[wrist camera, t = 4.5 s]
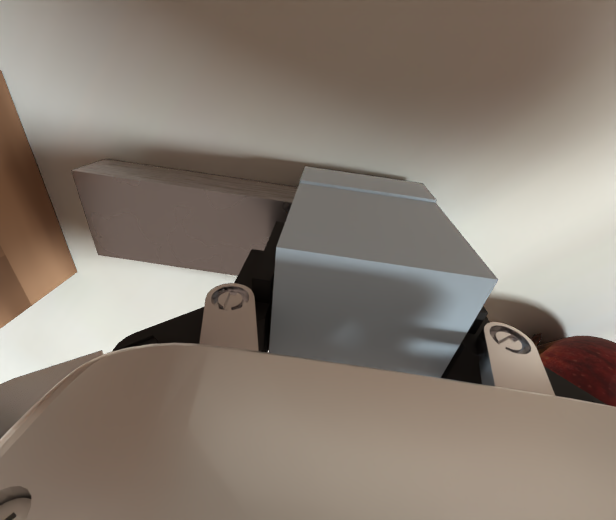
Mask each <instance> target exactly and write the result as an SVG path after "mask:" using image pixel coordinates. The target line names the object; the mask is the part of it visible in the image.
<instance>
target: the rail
mask: <svg viewBox="0 0 616 520" xmlns="http://www.w3.org/2000/svg"><path fill="white" fill-rule="evenodd" d="M71 171H72V174H73V177H74V181H75V184H76V187H77V190H78V193H79V196H80V199H81V203H82V206H83V209H84V212H85V215H86V218H87V221H88V225H89V228H90V231H91V234H92V237H93V240H94V243H95V247H96V250H97V253H98V255H102V256H109V257H116V258H122V259H129V260H136V261H142V262H149V263H156V264H163V265H169V266H176V267H183V268H190V269H196V270H203V271H210V272H217V273H223V274H230V275H237V276H238V275H239V273H240V271H241V269H242V267H243V265H244V263H245V261H246V259H247V257H248V255H249V253H250V251H251V250H252V249H256V250H263V251H264V249H265V247H266V244H267V242H268V240H269V237H270V235H271V233H272V230H273V228H274V226H275V223H276V221H278V222H286V219H287V216H288V213H289V211H290V208H291V205H292V202H293V200H294V197H295V194H296V191H297V189H298V187H294V186H287V185H280V184H274V183H267V182H260V181H253V180H246V179H239V178H232V177H226V176H219V175H212V174H205V173H198V172H191V171H185V170H178V169H171V168H164V167H157V166H150V165H143V164H137V163H130V162H123V161H116V160H109V159H104V160H101V161H98V162H95V163H92V164H89V165H86V166H83V167H80V168H77V169H74V170H71Z"/></svg>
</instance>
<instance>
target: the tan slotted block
mask: <svg viewBox="0 0 616 520" xmlns="http://www.w3.org/2000/svg"><path fill="white" fill-rule="evenodd" d="M75 273H77V270H76V267H75V265H74V262H73V259H72V257H71V254H70V251H69V249H68V246H67V243H66V241H65V238H64V236H63V233H62V230H61V228H60V225H59V222H58V220H57V217H56V214H55V212H54V209H53V206H52V204H51V201H50V198H49V196H48V193H47V191H46V188H45V185H44V183H43V180H42V177H41V175H40V172H39V169H38V167H37V164H36V161H35V159H34V156H33V153H32V151H31V148H30V146H29V143H28V140H27V138H26V135H25V132H24V130H23V127H22V124H21V122H20V119H19V116H18V114H17V111H16V108H15V106H14V103H13V101H12V98H11V95H10V93H9V90H8V87H7V85H6V82H5V79H4V77H3V74H2V71H1V70H0V328H2V327H3V326H5V325H6V324H7V323H9V322H10V321H11V320H13V319H14V318H15V317H17V316H18V315H19V314H21V313H22V312H24V311H25V310H26V309H28V308H29V307H30V306H32V305H33V304H34V303H36V302H37V301H38V300H40V299H41V298H43V297H44V296H45V295H47V294H48V293H49V292H51V291H52V290H53V289H55V288H56V287H57V286H59V285H60V284H62V283H63V282H64V281H66V280H67V279H68V278H70V277H71V276H72V275H74V274H75Z"/></svg>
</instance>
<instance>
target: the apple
mask: <svg viewBox="0 0 616 520" xmlns="http://www.w3.org/2000/svg"><path fill="white" fill-rule="evenodd" d="M541 338H542V337H541V333H539V334H535V335H534V336H533V338H532V340H531V341H532V342H533V343H534V345H535V346H536V348H537V351H538V353H539V356H540V358H541V361H542V363H543V366H545V367H546V368H548V369H550V370H551V371H553V372H555V373H556V374H558V375H559V376H561V377H563V378H564V379H566V380H568V381H569V382H571V383H572V384H574V385H576V386H577V387H579V388H581V389H582V390H584V391H585V392H587V393H589V394H590V395H592V396H594V397H595V398H597V399H598V400H600V401H602V402H603V403H605V404H607V405H609V406H614V407H616V343H614V342H612V341H609V340H606V339H602V338H598V337H592V336H573V337H568V338H563V339H560V340H556V341H553V342H549V343H545V344H543V345H539V346H537V345H538V344H539V341H540V340H541Z"/></svg>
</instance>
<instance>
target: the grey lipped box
mask: <svg viewBox="0 0 616 520" xmlns="http://www.w3.org/2000/svg"><path fill="white" fill-rule="evenodd" d="M497 281H498V279H497V278H496V276H495V275H494V274H493V273H492V271H491V270H490V269H489V268H488V267H487V265H486V264H485V263H484V262H483V260H482V259H481V258H480V257H479V255H478V254H477V253H476V252H475V251H474V249H473V248H472V247H471V246H470V244H469V243H468V242H467V241H466V239H465V238H464V237H463V236H462V235H461V233H460V232H459V231H458V230H457V228H456V227H455V226H454V225H453V223H452V222H451V221H450V220H449V218H448V217H447V216H446V215H445V214H444V212H443V211H442V210H441V209H440V207H439V206H438V205H437V204H436V199H435V198H434V196H433V195H432V194H431V193H430V192H429V190H428V189H427V188H426V187H425V186H424V184H423V183H417V182H410V181H403V180H396V179H389V178H382V177H375V176H369V175H362V174H355V173H348V172H341V171H334V170H327V169H320V168H314V167H307V166H305V168H304V170H303V173H302V176H301V179H300V183H299V186H298V189H297V191H296V194H295V197H294V200H293V202H292V205H291V208H290V211H289V213H288V216H287V219H286V222H285V224H284V227H283V230H282V233H281V235H280V238H279V241H278V244H277V246H276V258H275V272H274V287H273V301H272V315H271V329H270V343H269V353H274V354H281V355H288V356H295V357H302V358H309V359H316V360H323V361H330V362H337V363H344V364H351V365H357V366H364V367H371V368H377V369H384V370H391V371H397V372H404V373H411V374H417V375H424V376H431V377H437V378H441V376H442V374H443V373H444V371H445V369H446V368H447V366H448V364H449V362H450V361H451V359H452V357H453V356H454V354H455V352H456V351H457V349H458V347H459V346H460V344H461V342H462V340H463V339H464V337H465V335H466V334H467V332H468V330H469V329H470V327H471V325H472V324H473V322H474V320H475V318H476V317H477V315H478V313H479V312H480V310H481V308H482V307H483V305H484V303H485V301H486V300H487V298H488V296H489V295H490V293H491V291H492V290H493V288H494V286H495V285H496V283H497Z"/></svg>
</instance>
